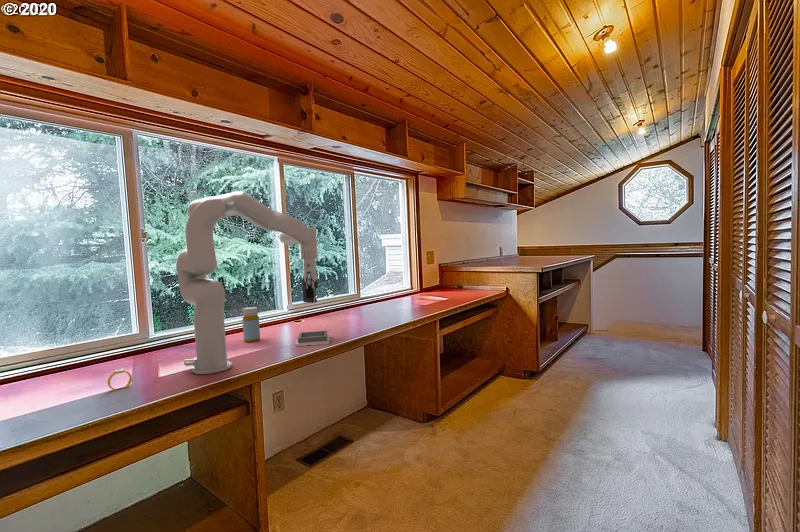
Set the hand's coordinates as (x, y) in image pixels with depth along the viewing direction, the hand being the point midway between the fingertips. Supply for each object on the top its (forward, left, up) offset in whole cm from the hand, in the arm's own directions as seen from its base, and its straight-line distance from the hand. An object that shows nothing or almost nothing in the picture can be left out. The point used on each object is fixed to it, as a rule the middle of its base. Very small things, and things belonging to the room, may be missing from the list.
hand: (310, 296), depth 172 cm
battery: (0, 0, -3) cm, 3 cm away
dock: (0, 0, -20) cm, 20 cm away
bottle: (-28, +12, -20) cm, 37 cm away
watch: (-56, -43, -20) cm, 74 cm away
